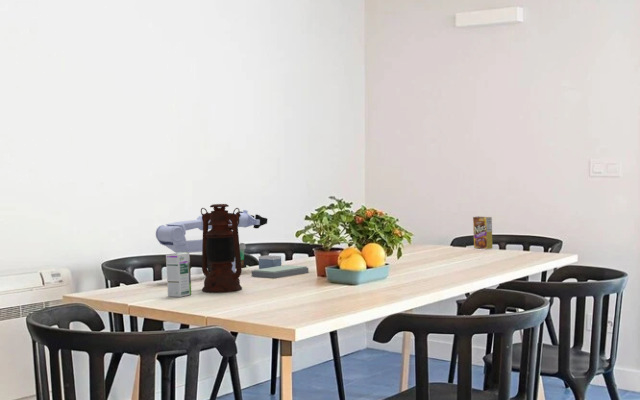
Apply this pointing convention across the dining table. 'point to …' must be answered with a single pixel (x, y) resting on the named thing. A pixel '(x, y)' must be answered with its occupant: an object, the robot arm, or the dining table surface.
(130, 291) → the dining table surface
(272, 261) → the housing
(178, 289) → the syrup box
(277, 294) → the dining table surface
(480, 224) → the candy box
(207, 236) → the lantern
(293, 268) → the stand
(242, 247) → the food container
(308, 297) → the dining table surface
